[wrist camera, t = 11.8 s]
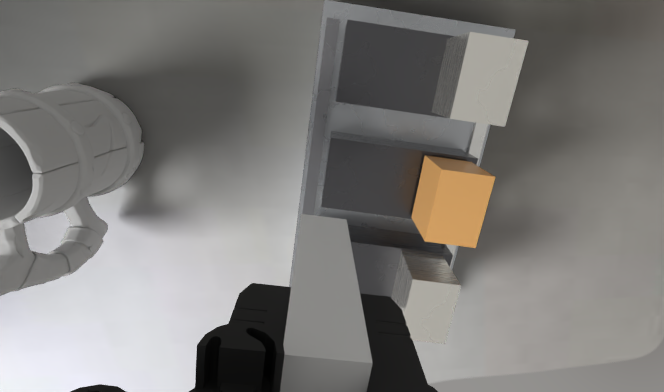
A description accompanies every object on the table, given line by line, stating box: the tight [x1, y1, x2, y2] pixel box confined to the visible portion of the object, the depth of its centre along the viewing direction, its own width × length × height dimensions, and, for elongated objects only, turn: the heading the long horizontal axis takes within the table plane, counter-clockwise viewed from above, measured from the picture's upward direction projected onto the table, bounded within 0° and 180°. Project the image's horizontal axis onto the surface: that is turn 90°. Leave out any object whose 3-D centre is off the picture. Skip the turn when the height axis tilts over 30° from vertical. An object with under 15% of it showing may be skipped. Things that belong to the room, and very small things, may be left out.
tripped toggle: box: [411, 155, 495, 248], centre depth 22 cm, size 3×4×4 cm
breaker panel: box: [289, 0, 529, 344], centre depth 24 cm, size 12×20×9 cm, turn 172°
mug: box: [0, 83, 144, 296], centre depth 22 cm, size 8×12×12 cm, turn 0°
